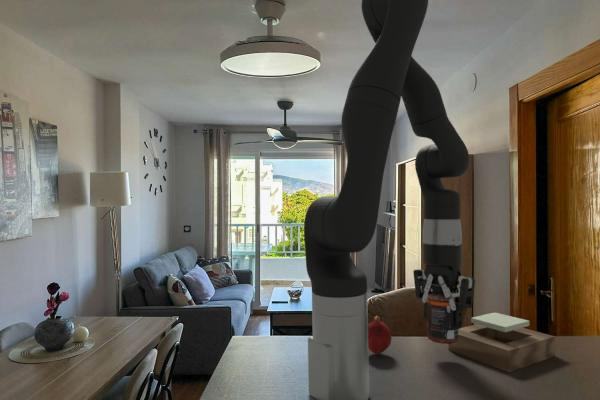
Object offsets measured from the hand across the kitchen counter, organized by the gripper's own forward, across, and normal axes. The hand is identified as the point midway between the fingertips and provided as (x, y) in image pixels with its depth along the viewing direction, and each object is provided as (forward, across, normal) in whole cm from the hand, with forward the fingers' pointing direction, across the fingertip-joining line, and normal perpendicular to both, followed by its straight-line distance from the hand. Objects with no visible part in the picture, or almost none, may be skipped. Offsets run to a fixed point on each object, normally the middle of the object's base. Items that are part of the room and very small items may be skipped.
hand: (442, 324), depth 85 cm
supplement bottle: (+3, 0, 0) cm, 3 cm away
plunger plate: (+1, +4, +12) cm, 13 cm away
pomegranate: (+7, -9, -9) cm, 15 cm away
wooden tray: (+7, +4, +13) cm, 15 cm away
